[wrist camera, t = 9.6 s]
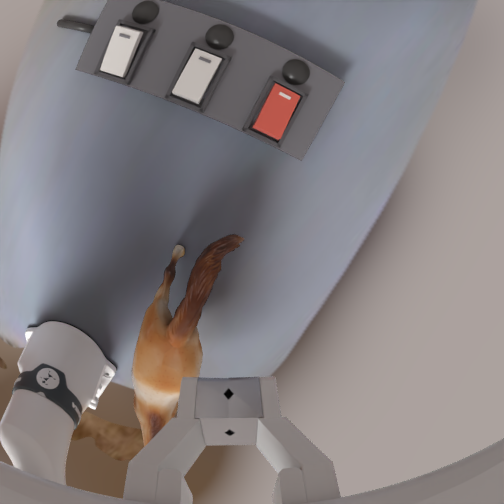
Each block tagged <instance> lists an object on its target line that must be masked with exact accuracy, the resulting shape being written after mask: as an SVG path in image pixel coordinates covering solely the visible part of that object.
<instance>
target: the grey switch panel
mask: <svg viewBox="0 0 504 504" xmlns="http://www.w3.org/2000/svg"><path fill="white" fill-rule="evenodd" d="M57 26H58V27H63V28H68V29H73V30H78V31H82V32H87V33H91V35H90V37H89V39H88V41H87V44H86V46H85V48H84V50H83V53H82V55H81V57H80V60H79V62H78V65H77V67H76V70H78V71H82V72H85V73H89V74H92V75H95V76H98V77H102V78H105V79H108V80H111V81H114V82H117V83H120V84H123V85H126V86H129V87H132V88H135V89H138V90H141V91H143V92H146V93H149V94H152V95H154V96H157V97H160V98H162V99H165V100H168V101H170V102H173V103H175V104H178V105H181V106H183V107H186V108H188V109H191V110H193V111H195V112H198V113H200V114H203V115H205V116H207V117H210V118H212V119H214V120H217V121H219V122H221V123H224V124H226V125H228V126H230V127H233V128H235V129H237V130H239V131H241V132H244V133H246V134H248V135H250V136H252V137H254V138H256V139H258V140H261V141H263V142H265V143H267V144H269V145H271V146H273V147H275V148H277V149H279V150H281V151H283V152H285V153H287V154H289V155H291V156H293V157H295V158H297V159H299V160H301V161H302V159H303V157H304V156H305V154H306V152H307V150H308V148H309V147H310V145H311V143H312V141H313V139H314V138H315V136H316V134H317V132H318V130H319V129H320V127H321V125H322V123H323V121H324V119H325V118H326V116H327V114H328V112H329V110H330V109H331V107H332V105H333V103H334V101H335V100H336V98H337V96H338V94H339V92H340V91H341V89H342V87H343V85H344V83H345V82H344V81H342V80H341V79H339V78H337V77H336V76H334V75H332V74H331V73H329V72H327V71H326V70H324V69H322V68H320V67H319V66H317V65H315V64H313V63H312V62H310V61H308V60H306V59H304V58H302V57H301V56H299V55H297V54H295V53H293V52H291V51H289V50H287V49H285V48H283V47H281V46H279V45H277V44H275V43H273V42H271V41H269V40H266V39H264V38H262V37H260V36H258V35H256V34H253V33H251V32H249V31H246V30H244V29H242V28H239V27H237V26H234V25H232V24H229V23H227V22H224V21H222V20H219V19H217V18H214V17H211V16H208V15H206V14H203V13H200V12H197V11H194V10H191V9H188V8H185V7H182V6H178V5H175V4H172V3H168V2H165V1H161V0H108V1H107V3H106V5H105V7H104V9H103V11H102V13H101V14H100V16H99V18H98V20H97V22H96V24H95V26H93V25H88V24H83V23H79V22H74V21H68V20H63V19H61V20H59V21H58V22H57ZM116 26H123V27H127V28H131V29H134V30H138V31H141V32H143V35H142V37H141V40H140V42H139V44H138V47H137V49H136V52H135V54H134V57H133V59H132V62H131V65H130V67H129V70H128V73H127V75H126V76H125V77H120V76H117V75H114V74H111V73H108V72H104V71H101V70H100V68H101V65H102V62H103V59H104V56H105V54H106V51H107V48H108V45H109V43H110V40H111V37H112V35H113V32H114V30H115V27H116ZM195 49H199V50H201V51H204V52H206V53H209V54H212V55H214V56H217V57H219V58H221V59H222V61H221V63H220V65H219V67H218V69H217V70H216V72H215V74H214V76H213V78H212V80H211V82H210V83H209V85H208V87H207V89H206V91H205V93H204V95H203V97H202V99H201V101H200V103H199V104H197V103H195V102H192V101H190V100H187V99H185V98H182V97H180V96H177V95H174V94H173V93H172V91H173V89H174V87H175V85H176V83H177V81H178V79H179V77H180V76H181V74H182V72H183V70H184V68H185V66H186V65H187V63H188V61H189V59H190V57H191V56H192V54H193V52H194V50H195ZM275 83H276V84H278V85H280V86H282V87H284V88H286V89H288V90H290V91H292V92H294V93H295V94H297V95H299V96H300V98H299V100H298V102H297V105H296V107H295V109H294V111H293V113H292V115H291V117H290V120H289V122H288V124H287V126H286V128H285V130H284V133H283V135H282V137H281V139H279V140H277V139H275V138H273V137H271V136H269V135H267V134H265V133H263V132H261V131H259V130H257V129H254V128H252V127H253V125H254V123H255V121H256V119H257V117H258V115H259V113H260V111H261V109H262V106H263V104H264V102H265V100H266V98H267V96H268V94H269V92H270V90H271V88H272V86H273V85H274V84H275Z"/></svg>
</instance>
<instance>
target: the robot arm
mask: <svg viewBox="0 0 504 504" xmlns="http://www.w3.org/2000/svg"><path fill="white" fill-rule="evenodd" d="M25 336H26V339H27V344H26V346H25V348H24V350H23V352H22V354H21V356H20V359H19V361H18V366H19V370H20V373H21V374H20V375H19V377H18V379H17V380H16V382H15V384H14V388H13V390H12V394H13V396H12V398H11V400H10V402H9V405H8V406H7V409H6V411H5V413H4V415H3V418H2V420H1V422H0V440H1V444H2V445H3V448H4V449H5V451H6V452H7V454H8V455H9V457H10V458H11V460H12V463H13V465H14V467H13V466H10V465H8V464H6V463H3V462H1V461H0V504H193V496H192V494H191V492H190V490H189V488H188V486H187V483H186V481H185V479H184V475H185V474H186V473H187V471H188V470H189V469H190V467H191V466H192V465H193V463H194V462H195V461H196V459H197V458H198V456H199V455H200V454H201V452H202V451H203V449H204V448H205V445H256V446H257V448H258V449H259V450H260V451H261V452H262V454H263V455H264V456H265V458H266V459H267V460H268V462H269V463H270V464H271V465H272V467H273V468H274V469H275V470H276V471H277V473H278V478H277V481H276V485H275V488H274V491H273V494H272V498H273V504H504V438H503V439H502V440H500V441H498V442H496V443H494V444H492V445H490V446H489V447H487V448H485V449H483V450H481V451H479V452H476V453H475V454H472V455H470V456H468V457H466V458H464V459H462V460H459V461H457V462H455V463H452V464H450V465H447V466H445V467H443V468H440V469H438V470H435V471H432V472H430V473H427V474H424V475H421V476H418V477H416V478H413V479H410V480H407V481H404V482H401V483H397V484H394V485H390V486H387V487H383V488H379V489H376V490H372V491H368V492H364V493H360V494H355V495H351V496H346V497H341V496H340V492H339V487H338V483H337V478H336V474H335V470H334V466H333V462H332V461H331V460H330V459H329V458H328V457H327V456H326V455H325V454H324V453H322V451H320V450H319V449H318V448H317V447H316V446H315V445H314V444H313V443H312V442H311V441H310V440H309V439H308V438H307V437H306V436H305V435H304V434H303V433H302V432H301V431H300V430H299V429H298V428H297V427H296V426H295V425H293V423H291V421H290V420H288V418H287V417H281V411H280V404H279V397H278V391H277V384H276V379H275V377H274V376H271V377H237V378H201V377H183V378H182V380H181V387H180V395H179V403H178V412H177V418H172V419H171V420H170V421H169V422H168V423H167V424H166V425H165V426H164V427H163V428H162V429H161V430H160V431H159V432H158V433H157V434H156V436H155V437H154V438H153V439H152V440H151V441H150V442H149V443H148V444H147V445H146V446H145V447H144V448H143V449H142V450H141V451H140V452H139V453H138V454H137V455H136V456H135V457H134V458H133V459H132V460H131V461H130V462H129V465H128V471H127V477H126V483H125V490H124V496H123V499H119V498H114V497H109V496H105V495H100V494H96V493H92V492H88V491H84V490H80V489H76V488H73V487H69V486H66V482H65V462H66V458H67V452H68V448H69V444H70V440H71V436H72V433H73V430H75V429H76V428H77V425H78V424H79V422H80V419H81V415H82V413H83V412H84V411H85V410H86V408H87V407H88V406H89V407H90V408H92V409H96V406H97V404H98V398H99V397H100V395H101V394H102V392H103V391H104V389H105V388H106V386H107V385H108V383H109V382H110V381H111V379H112V378H113V376H114V375H115V373H116V368H115V366H114V365H113V364H112V363H110V362H109V361H108V360H107V359H106V358H105V356H104V355H103V353H102V351H101V350H100V348H99V347H98V346H97V344H96V343H95V342H94V341H93V340H92V339H91V338H90V337H88V336H87V335H86V334H85V333H83V332H82V331H80V330H78V329H77V328H75V327H73V326H71V325H68V324H65V323H62V322H56V321H49V322H45V323H43V324H41V325H40V326H38V327H33V328H27V330H26V332H25Z"/></svg>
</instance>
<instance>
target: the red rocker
mask: <svg viewBox="0 0 504 504" xmlns="http://www.w3.org/2000/svg"><path fill="white" fill-rule="evenodd" d="M299 98H300V96H299V95H297V94H295V93H294V92H292V91H290V90H288V89H286V88H284V87H282V86H280V85H278V84H276V83H275V84H274V85H273V86H272V88H271V90H270V92H269V94H268V96H267V98H266V100H265V102H264V104H263V106H262V109H261V111H260V113H259V115H258V117H257V119H256V121H255V123H254V125H253V127H252V128H254V129H257V130H259V131H261V132H263V133H265V134H267V135H269V136H271V137H273V138H275V139H277V140H279V139H281V137H282V135H283V133H284V130H285V128H286V126H287V124H288V122H289V120H290V117H291V115H292V113H293V111H294V109H295V107H296V105H297V102H298V100H299Z"/></svg>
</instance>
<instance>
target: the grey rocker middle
mask: <svg viewBox="0 0 504 504" xmlns="http://www.w3.org/2000/svg"><path fill="white" fill-rule="evenodd" d="M221 61H222V59H221V58H219V57H217V56H214V55H212V54H209V53H206V52H204V51H201V50H199V49H195V50H194V52H193V54H192V56H191V57H190V59H189V61H188V63H187V65H186V66H185V68H184V70H183V72H182V74H181V76H180V77H179V79H178V81H177V83H176V85H175V87H174V89H173V91H172V93H173V94H174V95H177V96H180V97H182V98H185V99H187V100H190V101H192V102H195V103H197V104H199V103H200V101H201V99H202V97H203V95H204V93H205V91H206V89H207V87H208V85H209V83H210V82H211V80H212V78H213V76H214V74H215V72H216V70H217V69H218V67H219V65H220V63H221Z"/></svg>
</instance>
